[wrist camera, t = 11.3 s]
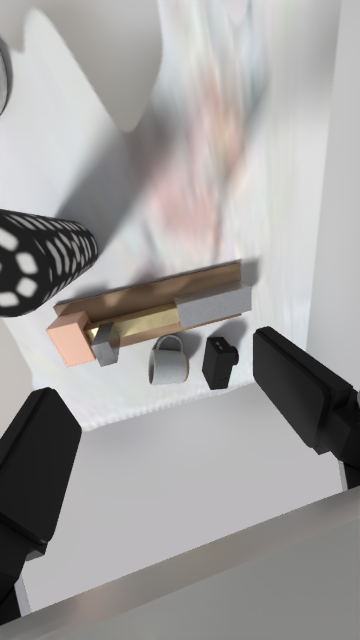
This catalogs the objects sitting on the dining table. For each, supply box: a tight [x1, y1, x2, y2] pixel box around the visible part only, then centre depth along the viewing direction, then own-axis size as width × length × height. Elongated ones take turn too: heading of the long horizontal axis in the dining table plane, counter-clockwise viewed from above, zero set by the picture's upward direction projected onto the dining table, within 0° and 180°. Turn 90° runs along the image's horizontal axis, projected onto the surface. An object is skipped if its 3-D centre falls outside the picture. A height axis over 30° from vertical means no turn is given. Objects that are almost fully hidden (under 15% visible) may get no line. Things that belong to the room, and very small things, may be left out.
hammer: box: [83, 303, 180, 367], centre depth 33 cm, size 4×22×10 cm, turn 101°
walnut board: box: [53, 263, 241, 348], centre depth 39 cm, size 12×37×1 cm, turn 101°
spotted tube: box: [0, 209, 98, 318], centre depth 23 cm, size 8×8×20 cm
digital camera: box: [202, 337, 239, 390], centre depth 45 cm, size 10×5×7 cm, turn 176°
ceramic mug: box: [148, 334, 189, 385], centre depth 42 cm, size 11×8×8 cm
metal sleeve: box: [172, 280, 251, 328], centre depth 38 cm, size 5×15×5 cm, turn 101°
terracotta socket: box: [45, 310, 96, 367], centre depth 35 cm, size 8×5×6 cm, turn 11°
